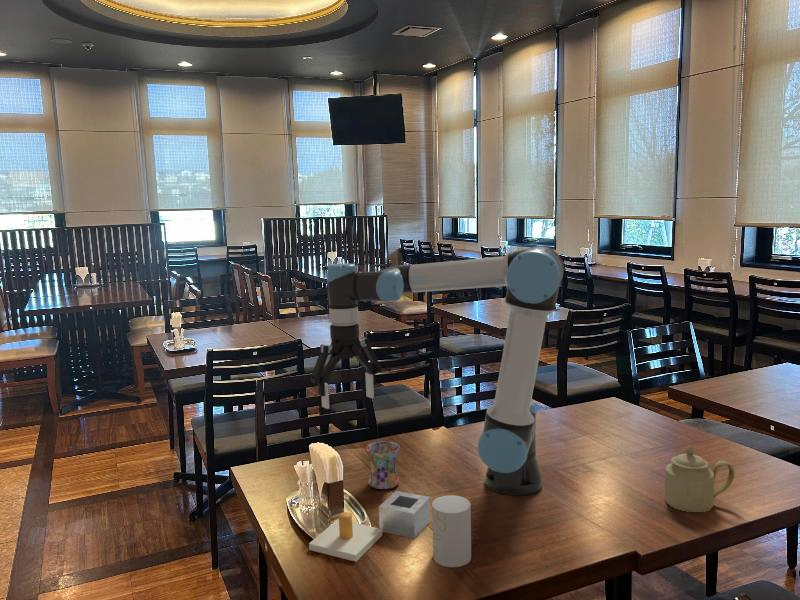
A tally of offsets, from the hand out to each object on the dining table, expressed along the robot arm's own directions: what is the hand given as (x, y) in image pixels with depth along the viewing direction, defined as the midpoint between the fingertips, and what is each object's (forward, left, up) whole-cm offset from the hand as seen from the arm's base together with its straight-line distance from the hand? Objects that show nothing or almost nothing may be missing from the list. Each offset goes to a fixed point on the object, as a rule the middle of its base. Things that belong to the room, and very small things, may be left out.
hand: (348, 402), depth 168 cm
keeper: (-13, +25, -24) cm, 37 cm away
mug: (-6, -6, -24) cm, 26 cm away
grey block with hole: (-22, +13, -24) cm, 35 cm away
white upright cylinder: (-37, +21, -24) cm, 49 cm away
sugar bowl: (-83, -26, -24) cm, 90 cm away
